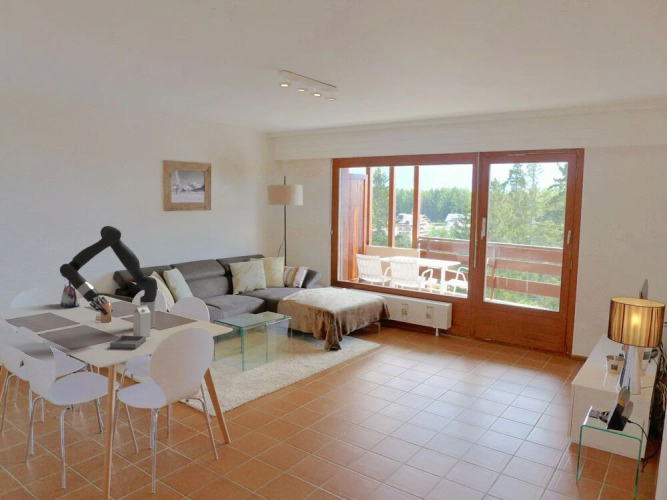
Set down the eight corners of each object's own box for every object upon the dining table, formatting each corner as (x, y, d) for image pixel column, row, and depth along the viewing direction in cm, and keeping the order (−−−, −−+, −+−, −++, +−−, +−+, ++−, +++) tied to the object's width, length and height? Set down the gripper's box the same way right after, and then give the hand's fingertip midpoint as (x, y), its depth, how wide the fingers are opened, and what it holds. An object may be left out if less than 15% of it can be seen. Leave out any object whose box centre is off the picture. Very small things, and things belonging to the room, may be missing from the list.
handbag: (82, 307, 365) (82, 274, 363) (68, 309, 358) (68, 275, 355) (71, 302, 379) (71, 270, 377) (57, 304, 372) (57, 271, 369)
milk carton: (133, 336, 298) (133, 305, 296) (143, 333, 304) (143, 303, 302) (140, 338, 294) (140, 307, 292) (150, 336, 300) (150, 305, 298)
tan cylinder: (103, 320, 283) (103, 301, 282) (113, 320, 283) (113, 302, 282) (98, 322, 278) (98, 303, 277) (108, 323, 278) (108, 304, 277)
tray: (121, 340, 289) (122, 335, 289) (145, 341, 289) (145, 336, 289) (110, 348, 273) (110, 343, 273) (135, 349, 273) (135, 344, 273)
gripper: (86, 289, 271) (108, 311, 273) (98, 285, 285) (119, 305, 287) (77, 298, 272) (98, 320, 273) (89, 293, 286) (110, 314, 287)
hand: (109, 312), depth 280 cm, fingers closed on tan cylinder, 5 cm apart
